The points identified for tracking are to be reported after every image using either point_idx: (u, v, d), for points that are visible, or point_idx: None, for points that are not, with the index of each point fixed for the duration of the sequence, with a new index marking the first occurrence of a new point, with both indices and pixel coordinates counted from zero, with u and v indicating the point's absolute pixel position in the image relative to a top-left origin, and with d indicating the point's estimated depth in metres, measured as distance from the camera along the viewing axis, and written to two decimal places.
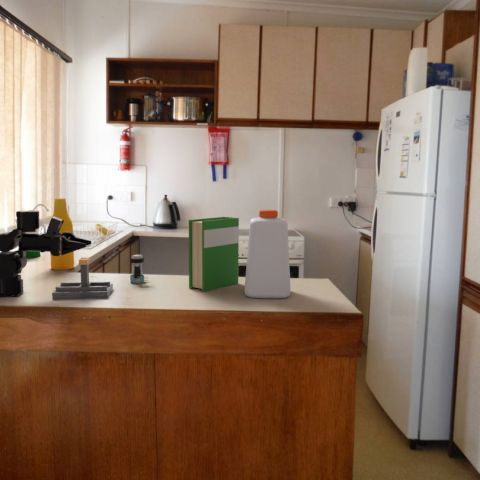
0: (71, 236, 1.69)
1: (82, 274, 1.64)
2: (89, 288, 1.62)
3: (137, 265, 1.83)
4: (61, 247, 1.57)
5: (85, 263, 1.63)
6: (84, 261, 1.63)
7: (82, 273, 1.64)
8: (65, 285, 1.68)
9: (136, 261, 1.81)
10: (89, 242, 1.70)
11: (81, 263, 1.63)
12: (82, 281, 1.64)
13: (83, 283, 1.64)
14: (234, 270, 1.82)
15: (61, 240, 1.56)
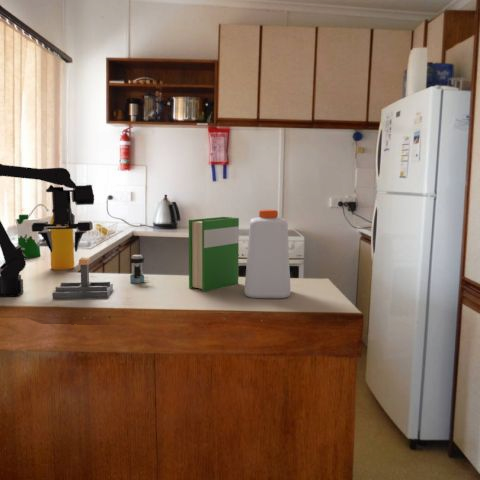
0: (50, 232, 1.71)
1: (82, 274, 1.64)
2: (89, 288, 1.62)
3: (137, 265, 1.83)
4: (85, 231, 1.70)
5: (85, 263, 1.63)
6: (84, 261, 1.63)
7: (82, 273, 1.64)
8: (65, 285, 1.68)
9: (136, 261, 1.81)
10: (52, 250, 1.70)
11: (81, 263, 1.63)
12: (82, 281, 1.64)
13: (83, 283, 1.64)
14: (234, 270, 1.82)
15: (86, 230, 1.72)
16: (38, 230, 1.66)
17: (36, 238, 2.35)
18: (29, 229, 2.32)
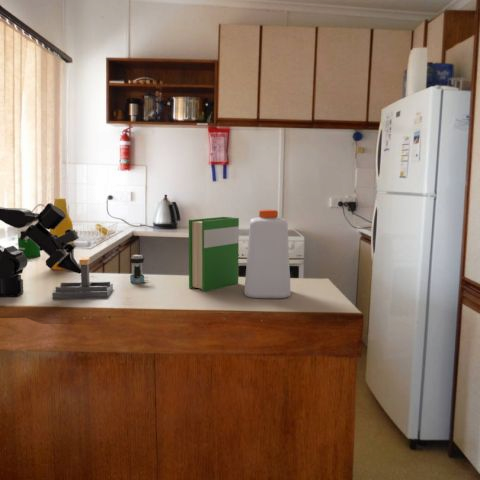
0: None
1: (82, 274, 1.64)
2: (89, 288, 1.62)
3: (137, 265, 1.83)
4: (61, 260, 1.60)
5: (85, 263, 1.63)
6: (84, 261, 1.63)
7: (82, 273, 1.64)
8: (65, 285, 1.68)
9: (136, 261, 1.81)
10: None
11: (81, 263, 1.63)
12: (82, 281, 1.64)
13: (83, 283, 1.64)
14: (234, 270, 1.82)
15: (66, 256, 1.60)
16: None
17: None
18: None
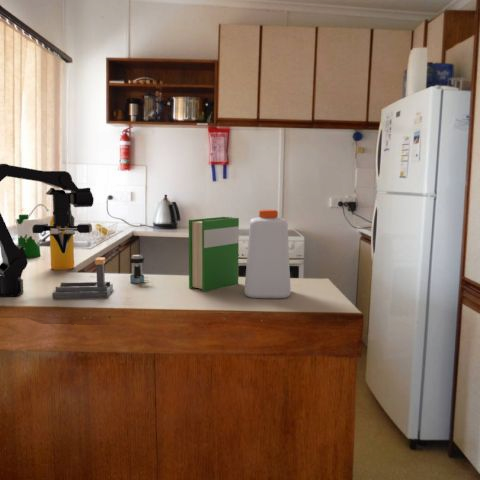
0: (62, 233, 1.75)
1: (98, 274, 1.64)
2: (89, 288, 1.62)
3: (137, 265, 1.83)
4: (73, 233, 1.73)
5: (101, 263, 1.63)
6: (100, 261, 1.63)
7: (98, 273, 1.64)
8: (65, 285, 1.68)
9: (136, 261, 1.81)
10: None
11: (97, 263, 1.63)
12: (98, 281, 1.64)
13: (99, 283, 1.65)
14: (234, 270, 1.82)
15: (74, 232, 1.76)
16: (39, 232, 1.70)
17: (36, 238, 2.35)
18: (29, 229, 2.32)
